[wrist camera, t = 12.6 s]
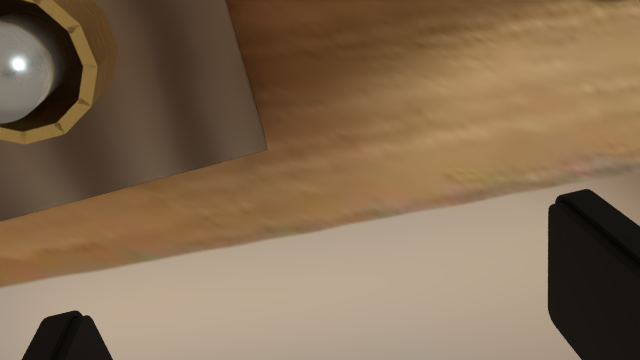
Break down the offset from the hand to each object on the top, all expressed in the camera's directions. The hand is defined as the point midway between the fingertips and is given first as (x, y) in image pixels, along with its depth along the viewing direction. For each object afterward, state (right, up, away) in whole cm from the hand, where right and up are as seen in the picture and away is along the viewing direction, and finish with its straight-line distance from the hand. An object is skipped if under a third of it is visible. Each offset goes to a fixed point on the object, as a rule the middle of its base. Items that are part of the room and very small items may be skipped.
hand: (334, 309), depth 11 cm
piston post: (-15, +10, +17) cm, 25 cm away
